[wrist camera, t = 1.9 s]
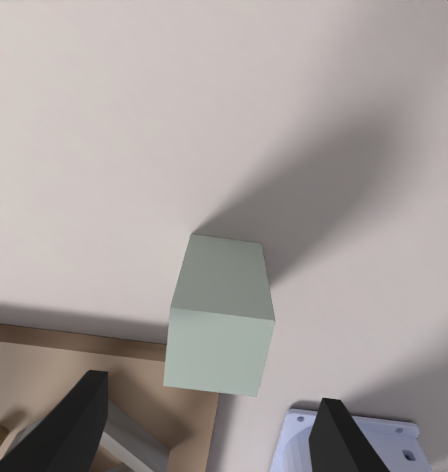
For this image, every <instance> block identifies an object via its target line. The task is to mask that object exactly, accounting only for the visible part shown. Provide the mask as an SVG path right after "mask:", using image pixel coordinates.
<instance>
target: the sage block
mask: <svg viewBox="0 0 448 472" xmlns="http://www.w3.org/2000/svg"><path fill="white" fill-rule="evenodd" d="M274 324H275V316H274V310H273V305H272V299H271V294H270V288H269V283H268V277H267V272H266V266H265V261H264V255H263V249H262V244H261V243H254V242H247V241H239V240H232V239H224V238H217V237H210V236H202V235H195V234H191V235H190V239H189V242H188V246H187V249H186V253H185V257H184V260H183V264H182V267H181V271H180V274H179V278H178V282H177V285H176V289H175V292H174V296H173V299H172V303H171V307H170V316H169V327H168V338H167V349H166V360H165V371H164V382H163V386H169V387H177V388H185V389H194V390H202V391H210V392H219V393H227V394H235V395H243V396H252V397H257V395H258V391H259V387H260V383H261V378H262V374H263V370H264V366H265V362H266V358H267V353H268V349H269V345H270V341H271V337H272V333H273V329H274Z"/></svg>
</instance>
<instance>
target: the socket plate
mask: <svg viewBox="0 0 448 472" xmlns="http://www.w3.org/2000/svg"><path fill="white" fill-rule="evenodd" d="M166 349H167V345H164V344H156V343H148V342H140V341H132V340H124V339H116V338H108V337H100V336H92V335H84V334H76V333H68V332H60V331H52V330H44V329H36V328H28V327H20V326H12V325H4V324H0V460H1V459H2V458H3V457H4V456H5V455H6V454H7V453H8V452H10V451H11V450H12V449H13V448H14V447H15V446H16V445H17V444H18V443H19V442H20V441H21V440H22V439H23V438H24V437H25V436H27V435H28V434H29V433H30V432H31V431H32V430H33V429H34V428H35V427H36V426H37V425H38V424H39V423H40V422H41V421H42V420H43V419H44V418H45V417H46V416H47V415H48V414H49V413H50V412H51V411H52V410H53V409H54V408H55V406H56V405H57V404H58V403H59V402H60V401H61V400H62V399H63V398H64V397H65V396H66V395H67V394H68V392H69V391H70V390H71V389H72V388H73V387H74V386H75V385H76V383H77V382H78V381H79V380H80V379H81V378H82V376H83V375H84V374H85V373H86V372H87V371H88V370H98V371H106V372H108V418H107V421H106V424H105V427H104V431H103V434H102V437H101V440H100V443H99V447H98V449H97V452H96V454H95V457H94V459H93V462H92V464H91V466H90V469H89V471H88V472H205V470H206V465H207V459H208V454H209V448H210V443H211V437H212V432H213V426H214V421H215V415H216V410H217V404H218V399H219V392H210V391H202V390H194V389H185V388H177V387H169V386H163V382H164V371H165V360H166Z"/></svg>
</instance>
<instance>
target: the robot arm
mask: <svg viewBox="0 0 448 472" xmlns="http://www.w3.org/2000/svg"><path fill="white" fill-rule="evenodd" d="M300 416H301V417H300ZM107 418H108V372H106V371H98V370H88V371H87V372H86V373H85V374H84V375H83V376H82V378H81V379H80V380H79V381H78V382H77V383H76V385H75V386H74V387H73V388H72V389H71V390H70V391H69V392H68V394H67V395H66V396H65V397H64V398H63V399H62V400H61V401H60V402H59V403H58V404H57V405H56V406H55V408H54V409H53V410H52V411H51V412H50V413H49V414H48V415H47V416H46V417H45V418H44V419H43V420H42V421H41V422H40V423H39V424H38V425H37V426H36V427H35V428H34V429H33V430H32V431H31V432H30V433H29V434H28V435H27V436H25V437H24V438H23V439H22V440H21V441H20V442H19V443H18V444H17V445H16V446H15V447H14V448H13V449H12V450H11V451H10V452H8V453H7V454H6V455H5V456H4V457H3V458H2V459H1V460H0V472H88V471H89V469H90V466H91V464H92V462H93V459H94V457H95V454H96V452H97V449H98V447H99V443H100V440H101V437H102V434H103V431H104V427H105V424H106V421H107ZM419 433H420V429H419V427H418V425H417V424H415V423H409V422H401V421H392V420H384V419H376V418H367V417H359V416H351V415H350V413H349V412H348V410H347V409H346V407H345V406H344V404H343V403H342V401H341V400H337V399H329V398H322V401H321V404H320V407H319V410H318V411H309V410H301V409H289V410H288V411H287V412H286V415H285V418H284V422H283V425H282V428H281V432H280V435H279V439H278V442H277V445H276V449H275V452H274V456H273V459H272V462H271V466H270V469H269V472H434V471H433V469H432V467H431V466H430V464H429V462H428V460H427V458H426V456H425V454H424V452H423V450H422V448H421V446H420V444H419V442H418V441H417V437H418V435H419Z"/></svg>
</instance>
